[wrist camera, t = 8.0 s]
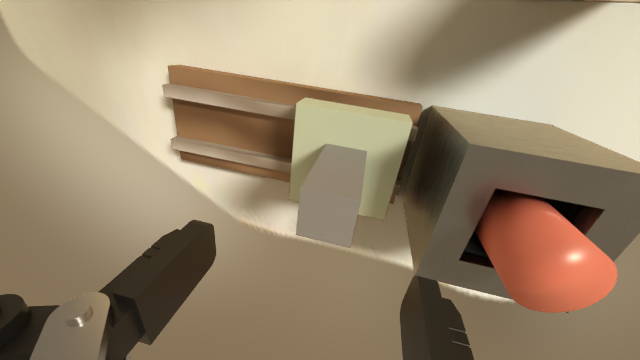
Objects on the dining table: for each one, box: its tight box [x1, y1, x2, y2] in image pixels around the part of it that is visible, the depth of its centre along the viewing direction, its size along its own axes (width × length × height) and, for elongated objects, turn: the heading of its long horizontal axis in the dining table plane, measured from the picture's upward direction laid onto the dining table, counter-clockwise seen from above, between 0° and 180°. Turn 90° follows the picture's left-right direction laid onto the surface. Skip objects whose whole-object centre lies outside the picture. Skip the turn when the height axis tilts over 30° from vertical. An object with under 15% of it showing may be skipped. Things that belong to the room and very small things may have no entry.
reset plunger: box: [475, 188, 617, 313], centre depth 14 cm, size 4×4×6 cm
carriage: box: [289, 97, 413, 248], centre depth 17 cm, size 8×8×10 cm
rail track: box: [162, 65, 422, 204], centre depth 24 cm, size 9×22×2 cm, turn 83°
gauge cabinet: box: [403, 106, 640, 313], centre depth 18 cm, size 9×9×10 cm
